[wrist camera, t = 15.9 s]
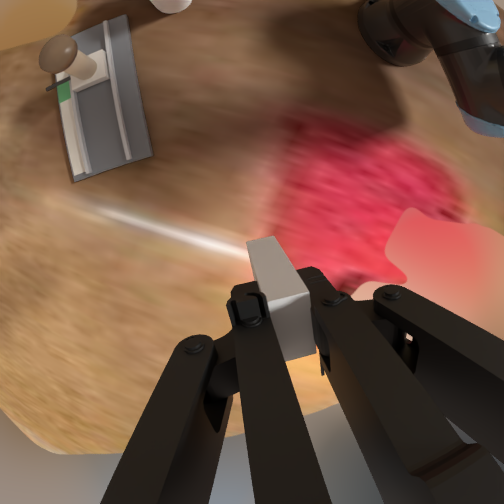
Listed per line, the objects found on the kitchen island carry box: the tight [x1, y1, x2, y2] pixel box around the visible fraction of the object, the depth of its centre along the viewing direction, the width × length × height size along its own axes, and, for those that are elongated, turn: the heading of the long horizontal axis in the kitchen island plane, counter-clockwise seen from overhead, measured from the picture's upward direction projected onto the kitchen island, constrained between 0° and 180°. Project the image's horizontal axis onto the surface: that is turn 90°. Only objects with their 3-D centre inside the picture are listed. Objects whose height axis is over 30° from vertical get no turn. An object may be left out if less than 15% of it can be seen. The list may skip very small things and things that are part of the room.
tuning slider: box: [39, 34, 110, 92], centre depth 30 cm, size 11×5×13 cm, turn 102°
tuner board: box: [55, 14, 154, 182], centre depth 37 cm, size 14×26×3 cm, turn 12°
